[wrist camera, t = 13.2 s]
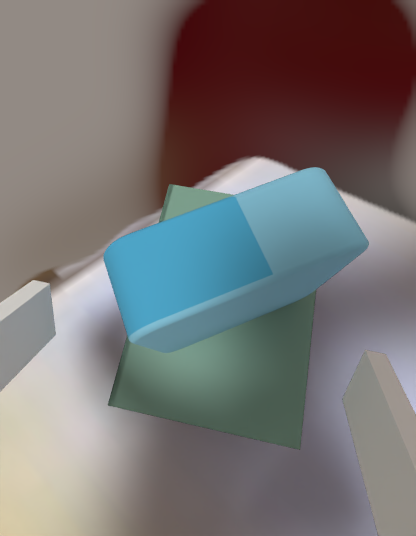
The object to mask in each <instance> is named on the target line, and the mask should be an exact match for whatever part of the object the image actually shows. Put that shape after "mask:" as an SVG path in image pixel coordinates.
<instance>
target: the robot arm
mask: <svg viewBox="0 0 416 536" xmlns="http://www.w3.org/2000/svg"><path fill="white" fill-rule="evenodd" d="M55 335H56V332H55V323H54V315H53V307H52V298H51V290H50V284H49V283H44V282H40V281H35V280H33V281H31V282H30V283H28V284H27V285H26V286H24V287H23V288H21V289H20V290H18V291H17V292H15V293H14V294H13V295H11V296H10V297H8V298H7V299H5V300H4V301H3V302H1V303H0V391H1V390H2V389H3V388H4V387H5V386H6V385H7V384H8V383H9V382H10V381H11V380H12V379H13V378H14V377H15V376H16V375H17V374H18V373H19V372H20V371H21V370H22V369H23V368H24V367H25V366H26V365H27V364H28V363H29V362H30V360H31V359H32V358H33V357H34V356H35V355H36V354H37V353H38V352H39V351H40V350H41V349H42V348H43V347H44V346H45V345H46V344H47V343H48V342H49V341H50V340H51V339H52V338H53V337H54V336H55ZM342 400H343V404H344V408H345V412H346V415H347V419H348V423H349V427H350V430H351V434H352V438H353V442H354V446H355V449H356V453H357V457H358V461H359V465H360V468H361V472H362V476H363V480H364V483H365V487H366V491H367V495H368V499H369V502H370V506H371V510H372V514H373V518H374V521H375V525H376V529H377V533H378V536H416V414H415V412H414V410H413V408H412V406H411V404H410V402H409V400H408V398H407V396H406V394H405V392H404V390H403V388H402V386H401V384H400V382H399V380H398V378H397V376H396V374H395V372H394V370H393V368H392V366H391V364H390V362H389V360H388V358H387V356H386V354H383V353H378V352H373V351H369V350H365V351H364V354H363V356H362V358H361V360H360V362H359V364H358V366H357V369H356V371H355V373H354V375H353V377H352V379H351V381H350V383H349V386H348V388H347V390H346V392H345V394H344V396H343V398H342Z"/></svg>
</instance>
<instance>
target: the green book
mask: <svg viewBox="0 0 416 536" xmlns="http://www.w3.org/2000/svg"><path fill="white" fill-rule="evenodd" d="M230 196H233V195H231V194H225V193H219V192H213V191H207V190H201V189H195V188H189V187H183V186H177V185H171V184H170V185H169V188H168V191H167V195H166V199H165V202H164V206H163V209H162V213H161V216H160V220H159V223H160V222H163V221H165V220H168V219H171V218H173V217H176V216H179V215H182V214H184V213H187V212H190V211H192V210H195V209H198V208H201V207H203V206H206V205H209V204H211V203H214V202H217V201H220V200H222V199H225V198H228V197H230ZM315 295H316V290H315V291H313V292H312V293H311V294H309V295H308V296H306V297H304V298H302V299H300V300H298V301H296V302H294V303H292V304H289V305H287V306H284V307H282V308H279V309H277V310H275V311H272V312H270V313H267V314H265V315H262V316H260V317H258V318H255V319H253V320H250V321H248V322H245V323H243V324H241V325H238V326H236V327H233V328H231V329H228V330H226V331H224V332H221V333H219V334H216V335H214V336H211V337H209V338H207V339H204V340H202V341H199V342H197V343H194V344H192V345H190V346H187V347H185V348H182V349H179V350H177V351H174V352H170V353H162V352H159V351H156V350H153V349H149V348H146V347H143V346H140V345H136V344H133V343H131V342H130V341H129V338H128V335H127V338H126V342H125V345H124V349H123V352H122V356H121V360H120V363H119V367H118V370H117V374H116V377H115V381H114V385H113V388H112V392H111V395H110V399H109V402H108V405H109V406H113V407H117V408H122V409H126V410H130V411H135V412H139V413H143V414H148V415H152V416H156V417H160V418H165V419H169V420H173V421H178V422H182V423H186V424H191V425H195V426H199V427H204V428H208V429H212V430H217V431H221V432H225V433H230V434H234V435H238V436H243V437H247V438H251V439H256V440H260V441H264V442H268V443H273V444H277V445H281V446H286V447H290V448H294V449H299V450H300V445H301V435H302V425H303V415H304V405H305V395H306V385H307V375H308V365H309V355H310V345H311V335H312V325H313V315H314V305H315Z"/></svg>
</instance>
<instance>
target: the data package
mask: <svg viewBox="0 0 416 536" xmlns="http://www.w3.org/2000/svg"><path fill="white" fill-rule="evenodd" d="M368 245H369V242H368V240H367V238H366V237H365V235H364V233H363V232H362V230H361V229H360V227H359V225H358V224H357V222H356V220H355V219H354V217H353V215H352V214H351V212H350V211H349V209H348V207H347V206H346V204H345V202H344V201H343V199H342V198H341V196H340V194H339V193H338V191H337V189H336V188H335V186H334V184H333V183H332V181H331V180H330V178H329V176H328V175H327V173H326V172H325V171H324V170H323V169H321V168H308V169H304V170H301V171H298V172H295V173H293V174H290V175H287V176H285V177H282V178H279V179H276V180H274V181H271V182H268V183H266V184H263V185H260V186H258V187H255V188H252V189H249V190H247V191H244V192H241V193H239V194H236V195H233V196H230V197H228V198H225V199H222V200H220V201H217V202H214V203H211V204H209V205H206V206H203V207H201V208H198V209H195V210H192V211H190V212H187V213H184V214H182V215H179V216H176V217H173V218H171V219H168V220H165V221H163V222H160V223H157V224H154V225H152V226H149V227H146V228H144V229H141V230H138V231H135V232H133V233H130V234H128V235H125V236H123V237H121V238H119V239H117V240H116V241H114V242H113V243H112V244H111V245H110V246H109V247H108V248H107V249H106V251H105V253H104V262H105V265H106V268H107V272H108V275H109V278H110V281H111V284H112V287H113V291H114V294H115V297H116V300H117V303H118V307H119V310H120V313H121V316H122V319H123V323H124V326H125V329H126V332H127V335H128V338H129V341H130V342H131V343H133V344H136V345H140V346H143V347H146V348H149V349H153V350H156V351H159V352H162V353H170V352H174V351H177V350H179V349H182V348H185V347H187V346H190V345H192V344H194V343H197V342H199V341H202V340H204V339H207V338H209V337H211V336H214V335H216V334H219V333H221V332H224V331H226V330H228V329H231V328H233V327H236V326H238V325H241V324H243V323H245V322H248V321H250V320H253V319H255V318H258V317H260V316H262V315H265V314H267V313H270V312H272V311H275V310H277V309H279V308H282V307H284V306H287V305H289V304H292V303H294V302H296V301H298V300H300V299H302V298H304V297H306V296H308V295H309V294H311V293H312V292H313V291H315V290H316V289H317V288H319V287H320V286H321V285H322V284H324V283H325V282H326V281H327V280H329V279H330V278H331V277H332V276H334V275H335V274H336V273H337V272H339V271H340V270H341V269H343V268H344V267H345V266H346V265H348V264H349V263H350V262H351V261H353V260H354V259H355V258H356V257H358V256H359V255H360V254H361V253H363V252H364V251H365V250H366V249H367V247H368Z"/></svg>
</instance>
